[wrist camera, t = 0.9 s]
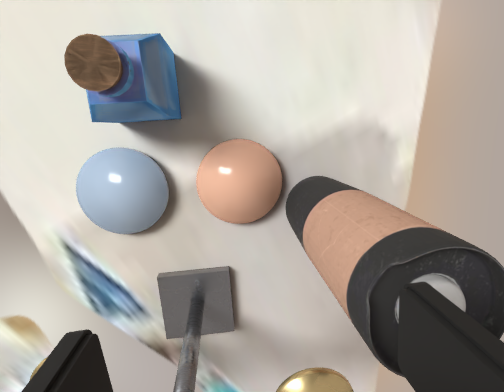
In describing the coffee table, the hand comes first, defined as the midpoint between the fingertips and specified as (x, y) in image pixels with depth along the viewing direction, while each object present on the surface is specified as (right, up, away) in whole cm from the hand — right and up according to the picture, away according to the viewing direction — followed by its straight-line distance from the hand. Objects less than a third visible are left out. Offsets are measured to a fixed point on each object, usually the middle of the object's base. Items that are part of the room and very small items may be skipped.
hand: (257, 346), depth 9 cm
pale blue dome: (-13, +5, +22) cm, 26 cm away
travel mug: (+7, +3, +25) cm, 26 cm away
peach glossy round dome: (-2, +6, +23) cm, 24 cm away
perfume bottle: (-11, +15, +20) cm, 27 cm away
